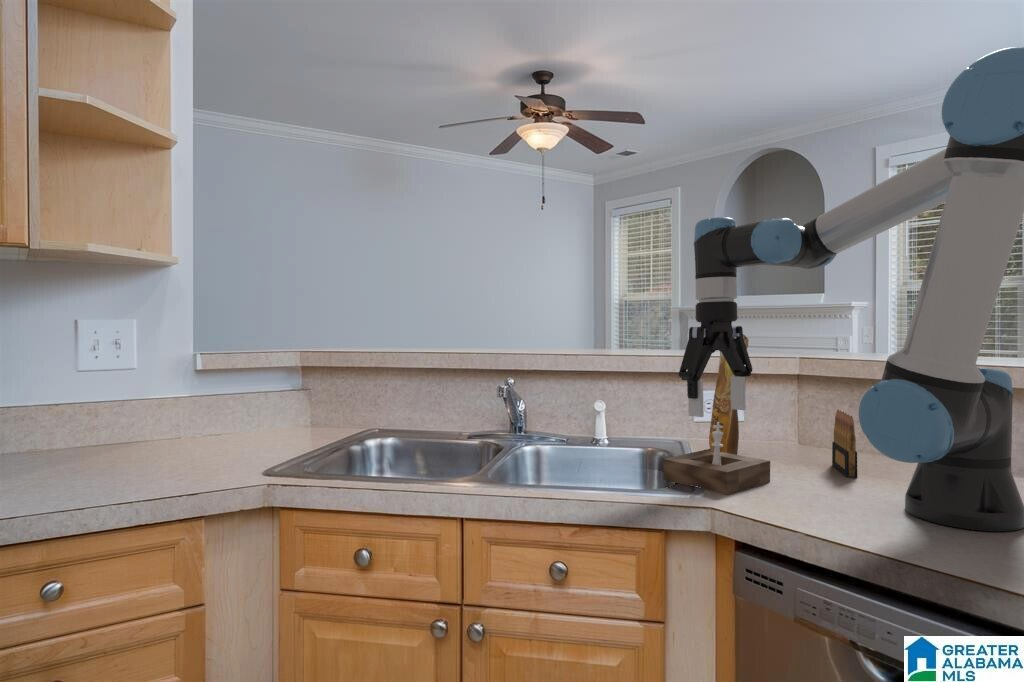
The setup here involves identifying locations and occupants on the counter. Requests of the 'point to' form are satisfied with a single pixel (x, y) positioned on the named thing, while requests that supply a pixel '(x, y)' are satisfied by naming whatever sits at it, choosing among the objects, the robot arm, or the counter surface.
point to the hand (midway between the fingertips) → (717, 413)
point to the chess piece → (717, 444)
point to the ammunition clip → (844, 445)
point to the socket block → (717, 471)
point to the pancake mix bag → (725, 409)
